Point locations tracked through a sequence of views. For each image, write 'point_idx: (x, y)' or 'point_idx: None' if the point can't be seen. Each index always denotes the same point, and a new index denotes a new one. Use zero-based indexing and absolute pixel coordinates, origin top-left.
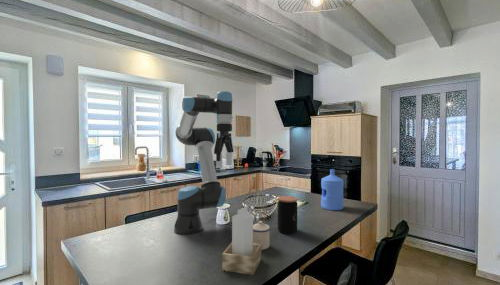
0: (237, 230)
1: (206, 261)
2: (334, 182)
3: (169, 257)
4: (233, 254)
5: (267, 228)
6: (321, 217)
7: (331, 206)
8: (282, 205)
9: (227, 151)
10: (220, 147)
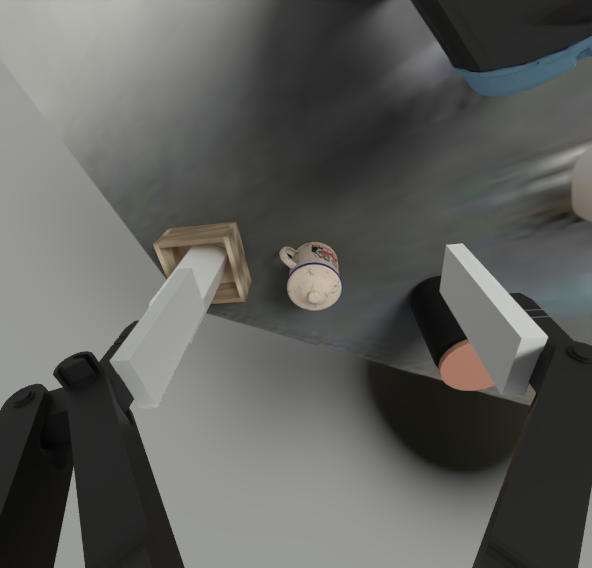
0: None
1: (177, 175)
2: None
3: (128, 50)
4: (166, 267)
5: (306, 308)
6: None
7: None
8: (438, 344)
9: (553, 356)
10: (61, 495)
